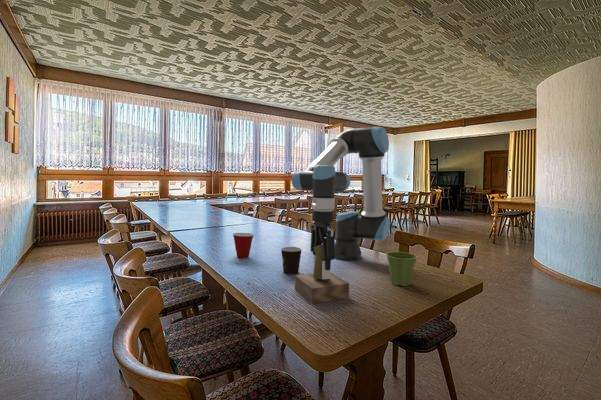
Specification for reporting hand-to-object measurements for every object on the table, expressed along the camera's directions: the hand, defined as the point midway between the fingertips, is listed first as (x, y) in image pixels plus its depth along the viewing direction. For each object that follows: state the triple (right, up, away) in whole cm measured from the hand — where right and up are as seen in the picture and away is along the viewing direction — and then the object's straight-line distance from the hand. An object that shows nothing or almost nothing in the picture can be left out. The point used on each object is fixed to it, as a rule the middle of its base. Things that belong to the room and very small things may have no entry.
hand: (321, 275), depth 108 cm
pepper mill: (0, -1, 0) cm, 1 cm away
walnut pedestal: (0, -6, 0) cm, 6 cm away
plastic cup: (-36, -2, +47) cm, 59 cm away
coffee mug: (-11, -4, +25) cm, 28 cm away
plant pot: (+32, -6, +12) cm, 35 cm away
